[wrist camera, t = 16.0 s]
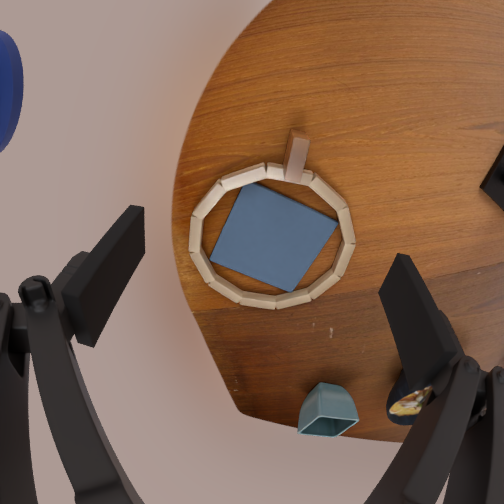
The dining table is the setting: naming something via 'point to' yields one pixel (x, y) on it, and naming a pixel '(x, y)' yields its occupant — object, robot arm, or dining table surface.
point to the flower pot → (327, 411)
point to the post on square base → (495, 181)
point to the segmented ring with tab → (288, 173)
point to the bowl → (404, 402)
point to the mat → (271, 237)
